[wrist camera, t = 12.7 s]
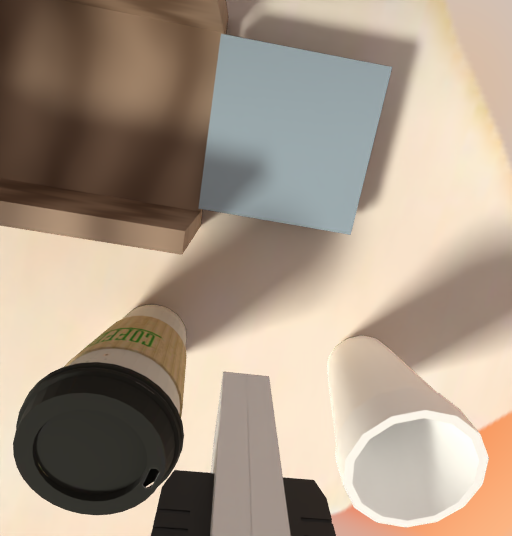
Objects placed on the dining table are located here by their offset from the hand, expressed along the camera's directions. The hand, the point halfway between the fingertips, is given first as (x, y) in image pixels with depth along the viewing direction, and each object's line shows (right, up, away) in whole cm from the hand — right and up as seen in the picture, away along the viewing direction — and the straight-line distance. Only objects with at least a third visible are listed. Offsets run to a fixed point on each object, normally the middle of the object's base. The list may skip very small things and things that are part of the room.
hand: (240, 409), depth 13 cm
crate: (-14, +18, +17) cm, 28 cm away
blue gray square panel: (-3, +15, +16) cm, 23 cm away
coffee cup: (-9, -2, +23) cm, 25 cm away
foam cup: (+11, -5, +25) cm, 27 cm away
